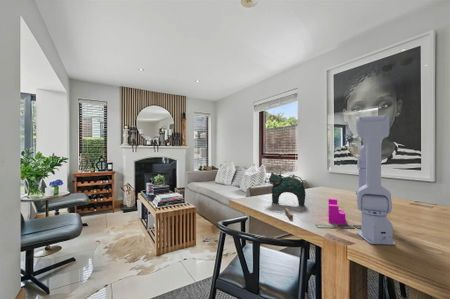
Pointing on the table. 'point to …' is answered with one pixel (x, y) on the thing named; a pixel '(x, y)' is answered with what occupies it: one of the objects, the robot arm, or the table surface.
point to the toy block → (335, 212)
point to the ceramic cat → (287, 187)
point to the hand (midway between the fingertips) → (366, 214)
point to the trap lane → (325, 224)
